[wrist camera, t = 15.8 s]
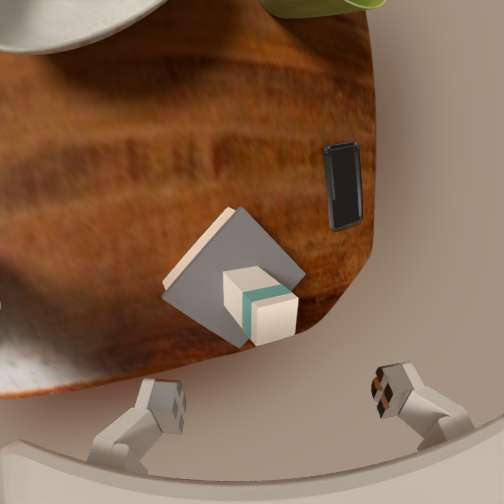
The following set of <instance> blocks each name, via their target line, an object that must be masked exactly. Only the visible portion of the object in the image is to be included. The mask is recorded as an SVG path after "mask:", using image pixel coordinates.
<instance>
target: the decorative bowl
mask: <svg viewBox="0 0 504 504" xmlns="http://www.w3.org/2000/svg"><path fill="white" fill-rule="evenodd" d="M166 1H167V0H0V52H4V53H10V54H19V55H42V54H51V53H58V52H64V51H68V50H73V49H76V48H80V47H83V46H86V45H89V44H92V43H95V42H98V41H100V40H103V39H105V38H107V37H110V36H112V35H114V34H116V33H118V32H120V31H122V30H124V29H126V28H128V27H130V26H131V25H133V24H135V23H136V22H138V21H140V20H141V19H143V18H144V17H146V16H147V15H149V14H150V13H152V12H153V11H154V10H156V9H157V8H159V7H160V6H161V5H162V4H164V3H165V2H166Z"/></svg>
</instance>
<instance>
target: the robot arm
mask: <svg viewBox="0 0 504 504" xmlns="http://www.w3.org/2000/svg"><path fill="white" fill-rule="evenodd" d="M1 307H2V306H1V302H0V310H1ZM376 375H377V377H376V378H374V379H373V382H372V385H371V392H372V396H373V399H374V400H375V401H377V402H378V405H377V410H378V412H379V415H380V418H381V419H383V418H388V417H393V416H397V415H398V417H400V418H401V419H402V420H403V421H404V422H405V423H406V424H408V425H409V426H410V427H411V428H412V429H413V430H415V431H416V432H417V433H418V434H420V435H421V436H422V437H423V438H424V440H423V441H422V442H421V443H420V445H419V446H418V448H417V450H418V452H415V453H412V454H409V455H406V456H403V457H399V458H396V459H393V460H389V461H385V462H382V463H378V464H374V465H370V466H366V467H361V468H357V469H352V470H347V471H341V472H336V473H330V474H324V475H317V476H310V477H301V478H292V479H281V480H266V481H206V480H190V479H179V478H169V477H161V476H153V475H147V474H148V471H147V469H146V468H145V467H144V466H143V465H142V463H141V462H140V461H139V460H140V459H141V458H142V457H143V456H144V454H145V453H146V452H147V451H148V450H149V449H150V448H151V447H152V446H153V444H154V443H155V442H156V441H157V440H158V439H159V438H160V436H161V435H162V433H169V434H182V430H183V424H184V420H183V418H182V415H183V414H185V410H186V398H185V394H184V392H183V391H182V390H181V389H182V384H181V381H179V380H165V379H152V378H144V380H143V381H142V384H141V387H140V391H139V394H138V397H137V401H136V404H135V407H134V408H130V409H129V410H128V411H127V412H125V413H124V414H123V415H122V416H121V417H119V418H118V419H117V420H116V421H115V422H113V423H112V424H111V425H109V426H108V427H107V428H106V429H105V430H104V431H102V432H101V433H100V434H98V435H97V436H96V437H95V438H94V441H93V444H92V447H91V450H90V453H89V456H88V459H87V461H83V460H79V459H76V458H73V457H70V456H66V455H63V454H60V453H57V452H55V451H52V450H49V449H46V448H43V447H41V446H38V445H36V444H33V443H31V442H28V441H26V440H22V439H21V440H17V441H14V442H12V443H10V444H9V445H7V446H5V447H4V448H2V449H0V504H504V414H502V415H500V416H499V417H497V418H495V419H493V420H491V421H489V422H487V423H485V424H483V425H481V426H479V427H477V428H475V427H474V425H473V424H472V422H471V420H470V418H469V416H468V414H467V412H466V410H465V409H464V408H463V407H461V406H459V405H458V404H456V403H454V402H453V401H451V400H449V399H447V398H446V397H444V396H443V395H441V394H439V393H438V392H436V391H434V390H433V389H431V388H429V387H428V386H427V387H425V386H424V384H423V383H422V381H421V379H420V377H419V375H418V373H417V372H416V370H415V368H414V366H413V365H412V363H411V362H410V361H407V362H402V363H396V364H391V365H387V366H382V367H379V368H378V369H377V370H376Z"/></svg>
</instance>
